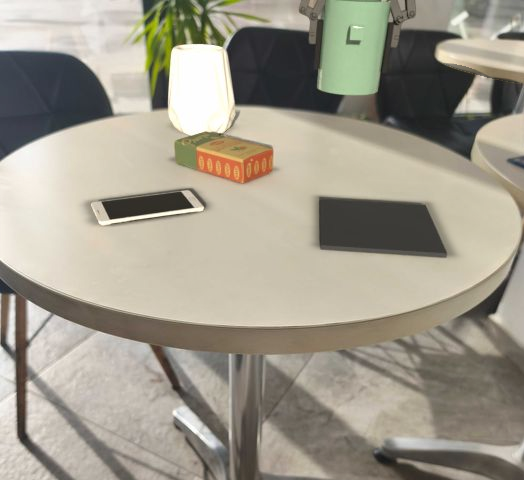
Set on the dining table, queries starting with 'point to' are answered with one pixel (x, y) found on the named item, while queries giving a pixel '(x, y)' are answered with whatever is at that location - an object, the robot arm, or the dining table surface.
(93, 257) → the dining table surface
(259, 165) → the carton
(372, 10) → the kettle
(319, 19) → the robot arm
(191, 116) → the vase
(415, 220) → the mat
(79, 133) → the dining table surface
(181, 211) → the smartphone
